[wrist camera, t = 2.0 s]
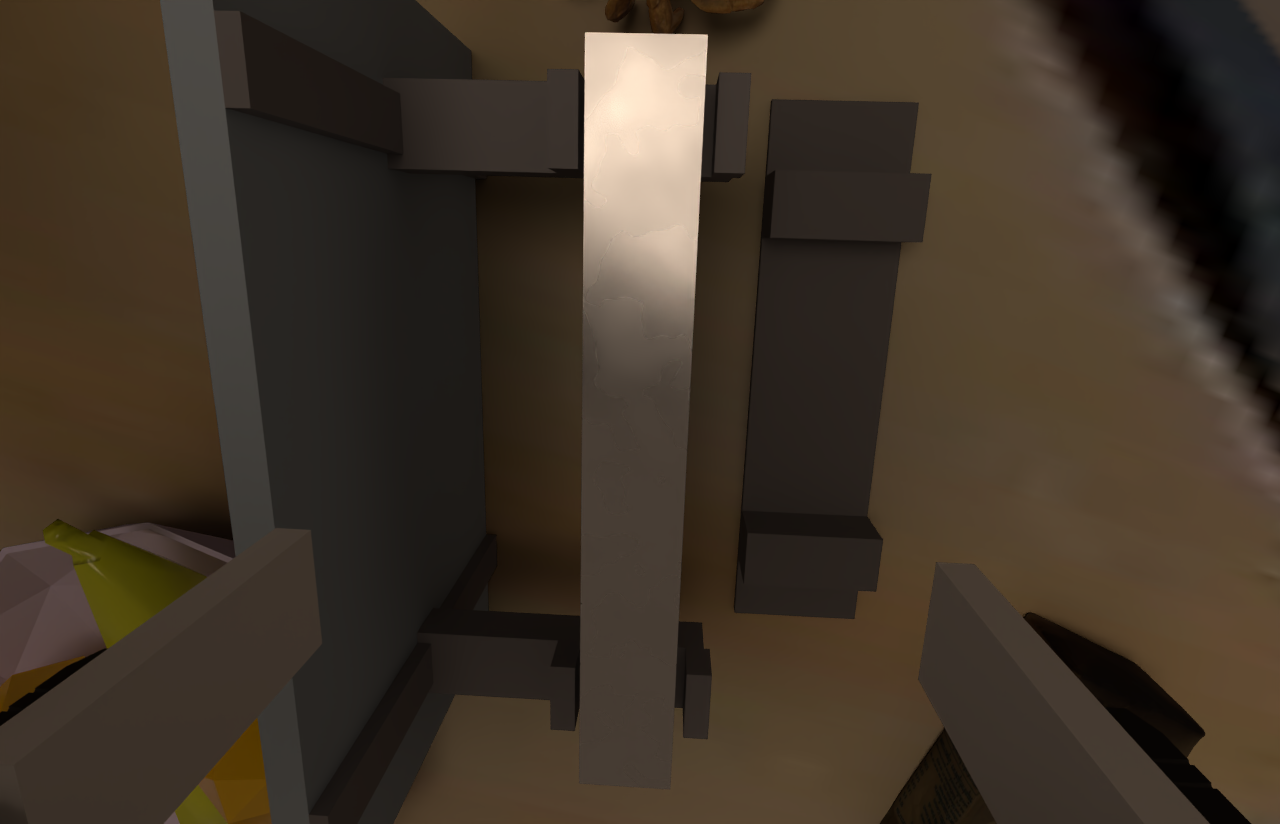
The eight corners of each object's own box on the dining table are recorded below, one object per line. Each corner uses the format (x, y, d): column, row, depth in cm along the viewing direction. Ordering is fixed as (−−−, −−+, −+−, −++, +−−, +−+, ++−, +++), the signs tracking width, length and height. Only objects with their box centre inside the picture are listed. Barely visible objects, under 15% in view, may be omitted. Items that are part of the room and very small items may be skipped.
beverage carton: (858, 834, 44) (889, 935, 38) (1021, 600, 40) (1088, 670, 33) (964, 880, 45) (1013, 986, 38) (1138, 654, 40) (1226, 733, 34)
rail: (591, 712, 30) (579, 783, 26) (600, 66, 23) (585, 32, 19) (670, 716, 30) (670, 789, 26) (702, 68, 23) (708, 34, 19)
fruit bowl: (363, 893, 48) (270, 1090, 37) (-7, 745, 46) (-221, 905, 35) (510, 572, 41) (448, 696, 30) (79, 383, 39) (-155, 441, 28)
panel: (469, 623, 41) (290, 960, 22) (447, 50, 33) (132, -206, 14) (694, 635, 41) (711, 993, 22) (727, 55, 33) (803, -204, 13)
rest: (733, 608, 40) (739, 642, 37) (771, 101, 33) (782, 86, 30) (852, 614, 40) (868, 649, 37) (915, 104, 33) (942, 89, 29)
